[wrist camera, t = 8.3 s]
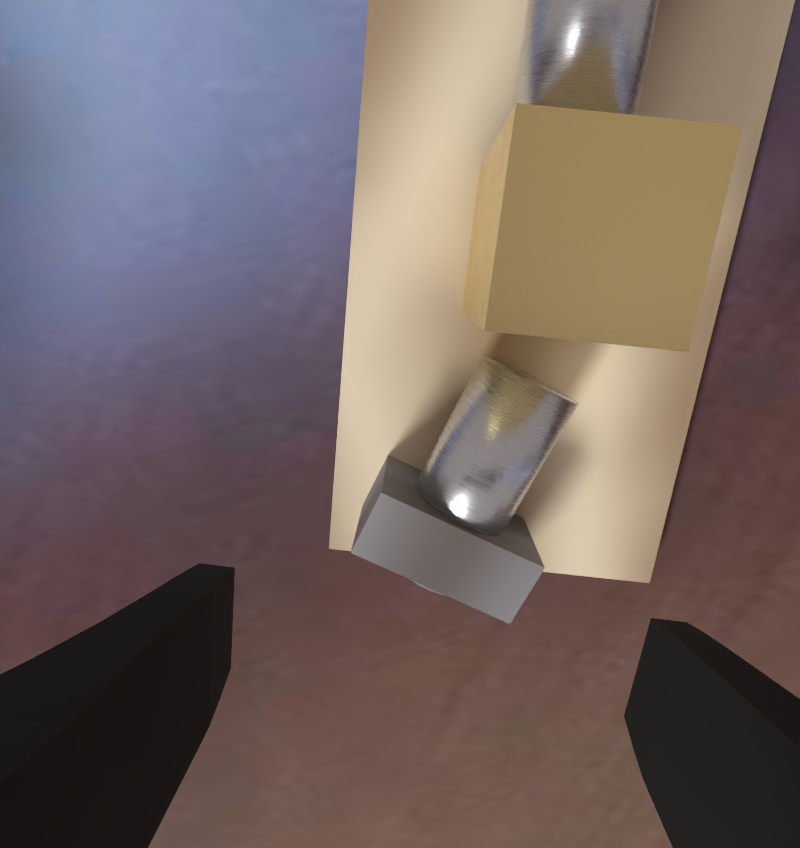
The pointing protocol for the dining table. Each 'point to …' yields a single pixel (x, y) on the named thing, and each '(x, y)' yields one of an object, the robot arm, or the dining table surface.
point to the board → (538, 356)
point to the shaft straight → (585, 54)
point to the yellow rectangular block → (597, 226)
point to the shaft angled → (493, 447)
